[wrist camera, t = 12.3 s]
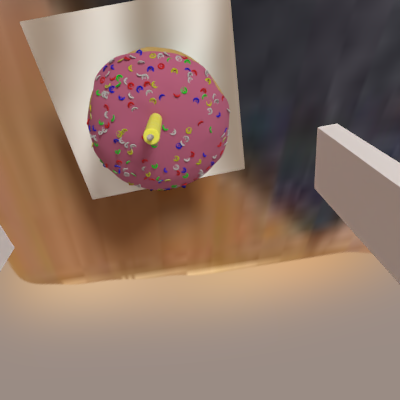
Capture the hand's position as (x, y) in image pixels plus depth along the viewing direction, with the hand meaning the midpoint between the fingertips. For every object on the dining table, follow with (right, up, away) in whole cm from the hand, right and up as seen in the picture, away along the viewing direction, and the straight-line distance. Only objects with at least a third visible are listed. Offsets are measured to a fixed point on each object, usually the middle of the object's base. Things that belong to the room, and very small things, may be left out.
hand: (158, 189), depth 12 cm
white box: (-3, +10, +17) cm, 20 cm away
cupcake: (-1, +7, +10) cm, 12 cm away
